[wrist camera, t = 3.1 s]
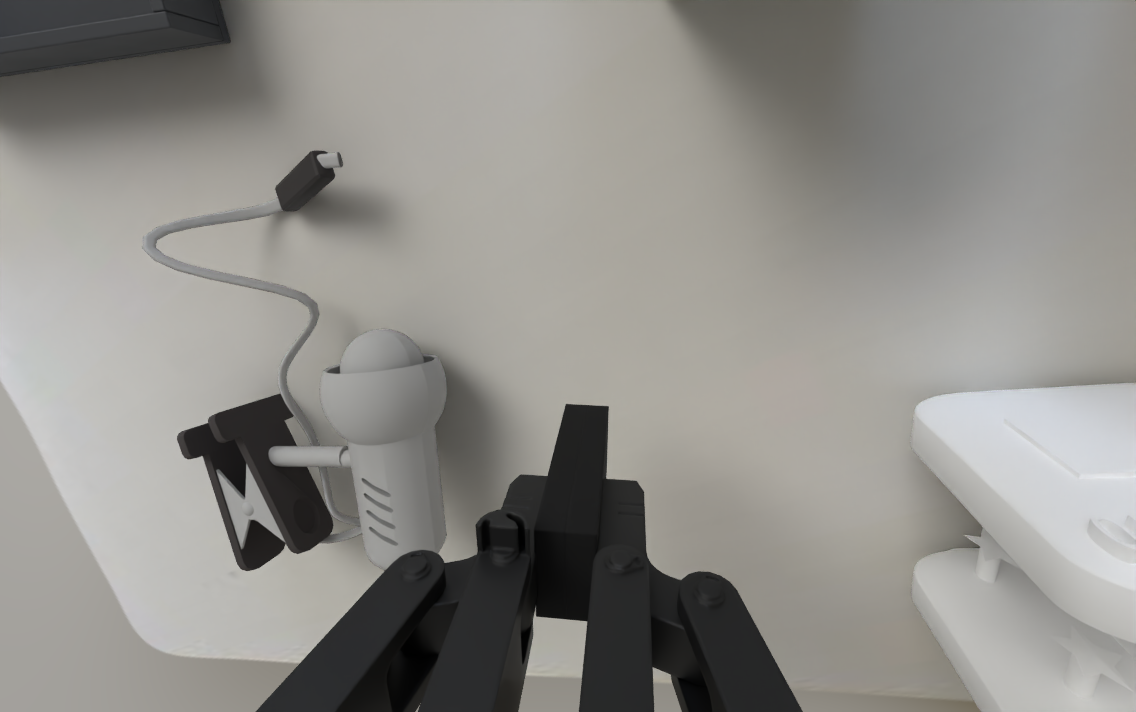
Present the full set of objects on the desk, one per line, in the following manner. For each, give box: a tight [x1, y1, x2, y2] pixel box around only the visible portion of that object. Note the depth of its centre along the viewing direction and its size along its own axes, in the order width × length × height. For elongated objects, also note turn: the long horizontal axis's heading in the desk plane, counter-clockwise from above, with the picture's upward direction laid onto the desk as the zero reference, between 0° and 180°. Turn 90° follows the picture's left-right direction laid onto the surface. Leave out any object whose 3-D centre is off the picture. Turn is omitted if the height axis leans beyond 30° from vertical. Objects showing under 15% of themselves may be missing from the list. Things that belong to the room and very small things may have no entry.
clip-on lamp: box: [142, 151, 447, 571], centre depth 23 cm, size 12×6×18 cm
